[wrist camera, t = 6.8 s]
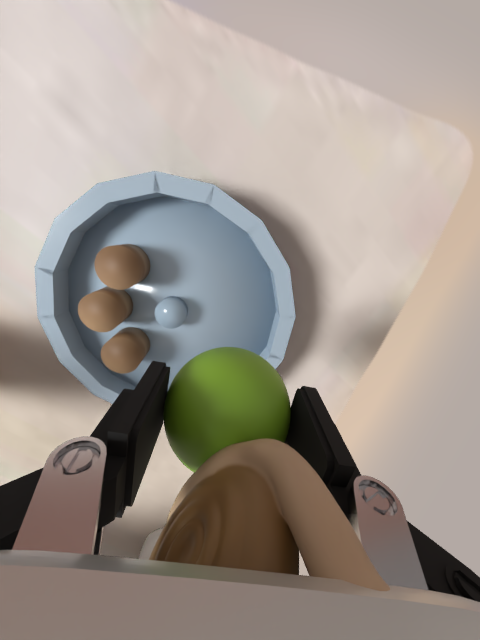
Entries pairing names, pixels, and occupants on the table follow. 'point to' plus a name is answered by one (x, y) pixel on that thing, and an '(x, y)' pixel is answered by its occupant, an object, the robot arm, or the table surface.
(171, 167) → the table surface
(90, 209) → the tray
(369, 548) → the robot arm
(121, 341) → the bead
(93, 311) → the bead
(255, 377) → the snail figurine
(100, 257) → the bead
